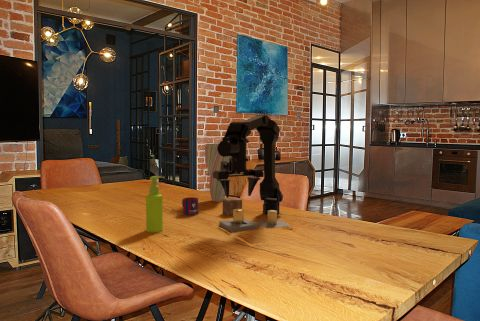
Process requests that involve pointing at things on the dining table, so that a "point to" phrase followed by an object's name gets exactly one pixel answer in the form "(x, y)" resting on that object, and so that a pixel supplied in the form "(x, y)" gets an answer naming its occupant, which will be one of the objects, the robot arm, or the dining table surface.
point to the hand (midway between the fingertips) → (238, 196)
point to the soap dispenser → (154, 208)
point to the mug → (190, 206)
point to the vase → (213, 164)
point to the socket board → (232, 228)
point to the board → (279, 224)
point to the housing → (231, 205)
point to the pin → (238, 216)
